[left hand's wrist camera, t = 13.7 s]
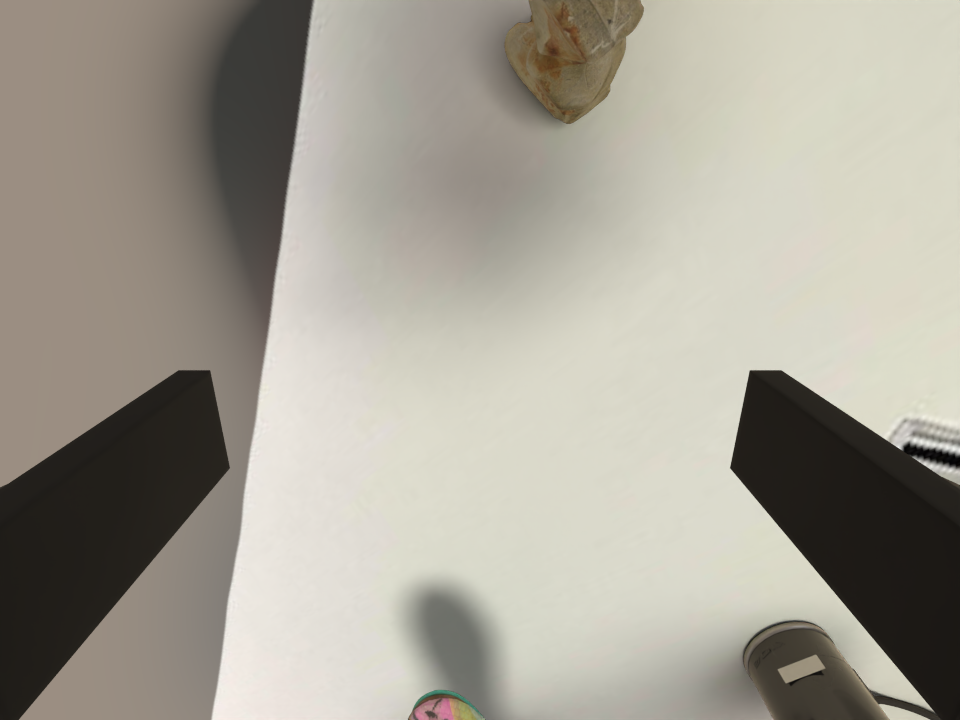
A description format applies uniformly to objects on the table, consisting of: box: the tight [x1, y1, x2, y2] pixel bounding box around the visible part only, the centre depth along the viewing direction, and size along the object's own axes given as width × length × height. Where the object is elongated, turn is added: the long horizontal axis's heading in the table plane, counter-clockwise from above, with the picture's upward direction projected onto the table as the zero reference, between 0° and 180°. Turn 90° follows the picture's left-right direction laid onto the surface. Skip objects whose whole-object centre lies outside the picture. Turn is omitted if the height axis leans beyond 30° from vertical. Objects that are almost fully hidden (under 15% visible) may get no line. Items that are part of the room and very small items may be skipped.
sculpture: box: [505, 0, 644, 124], centre depth 29 cm, size 6×7×15 cm
